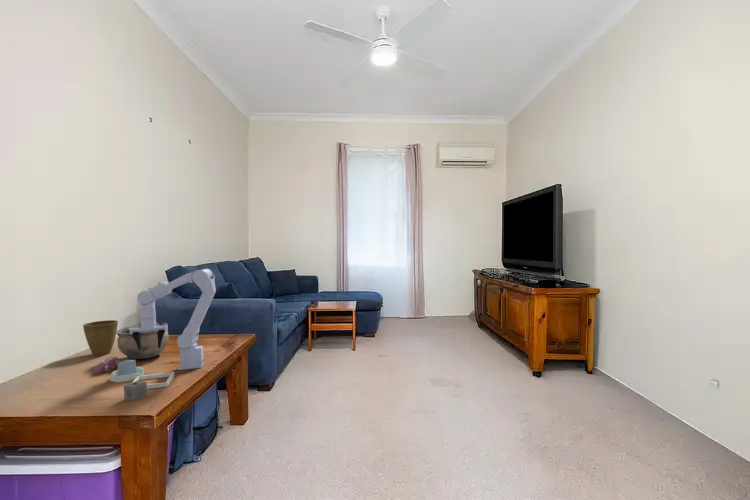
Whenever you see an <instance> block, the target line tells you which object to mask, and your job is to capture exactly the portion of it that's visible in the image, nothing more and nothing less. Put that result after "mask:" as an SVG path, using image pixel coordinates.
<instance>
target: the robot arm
mask: <svg viewBox="0 0 750 500" xmlns="http://www.w3.org/2000/svg"><path fill="white" fill-rule="evenodd" d="M215 279H216V277H215V274H214V273H213V271H212V270H211V269H210V268H203V269H197V270H196V271H192V272H188V273H186V274H183V275H181V276H179V277H178V278H176V279H173V280H172V281H170V282H167V281H160V282H157V284H156V285H154V286H150V287H148V288H147V289H146V290H142V291H140V292H139V293H138V294H137V297H136V299H137V301H138V303H139V308H140V311H139V312H140V324H141V327H140V328H132V329H130V334H133V335H132V337H133V338H134V340H135V341H136V343H137V346H138V349H139V350H141V349H142V344H141V332H153V331H158V332H157V336H158V348H160V347H161V342H162V339H163V336H164V333H165V331H168V329H169V327H168V326H169V325H167V326H161V325H159V326H156V323H157V314H156V300H160V299H161V298H163V297H165V296H168V295H169V294H172V291H173V289H175V288H178V287H180V286H183V285H185V284H188V283H191V284H193V283H194V284H196V285H197V286H198V287H199V290H200V291H201V292H202V293H201V295H200V298H199V299H198V302H197V304H196V306H195V309H194V310H193V312H192V315H191V317H190V319H189V321H188V323H187V326H185V328H184V329H183V332H182V334H180V335H179V336H178V337H177V340H176V344H177V346H178V347H179V363H180V364H179V367H178V369H177V371H182V370H185V371H186V370H192V369H201V368H202V367H203V365H204V363H205V361H204V360H205V359H204V348H203V345H198V343H197V342H198V340H199V337H200V336H199V333H200V331H201V325H202V323H203V321H204V319H205V316H206V315H207V312H208V309H209V308H210V306H211V304H212V302H213V299H214V297H215V294H216V291H217V290H216V289H217V288H216V281H215Z"/></svg>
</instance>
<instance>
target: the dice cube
mask: <svg viewBox="0 0 750 500" xmlns="http://www.w3.org/2000/svg"><path fill="white" fill-rule="evenodd" d="M132 382H133V381H132ZM132 382H130V383H127V384H125V385H123V393H124V397H123V398H124V400H125V401H130V402H132V401H133V402H136V401H138V400H141V399H143V398H146V397H148V389H147V384H148V383H147V382H146V381H142V380H139V381H135V382H133V383H132Z"/></svg>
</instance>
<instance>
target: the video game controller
mask: <svg viewBox="0 0 750 500" xmlns="http://www.w3.org/2000/svg"><path fill="white" fill-rule="evenodd" d="M119 362H121V359H120V358H119V357H116V356H113V357H111V356H110V357H107V358H106V359H104V360H102V361H101V362H100V363H99V364H98V365H97V366H96V367H94V369H93V374H94V375H97V374H99V373H101V372H103V373H106V372H108V371H109V370H110V371H112V370H114V369H115V367H117V366H118V363H119Z"/></svg>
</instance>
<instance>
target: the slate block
mask: <svg viewBox="0 0 750 500" xmlns="http://www.w3.org/2000/svg"><path fill="white" fill-rule="evenodd" d="M136 360H137V359H125V360H122V361H120V362H119V363H118V364H117V370H118V376H120V375H129V374H132V373H135V372H136V367H137V366H136V365H137V364H136Z"/></svg>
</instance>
